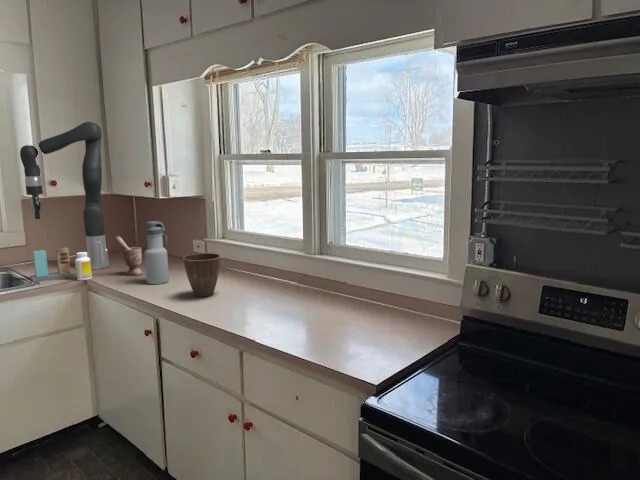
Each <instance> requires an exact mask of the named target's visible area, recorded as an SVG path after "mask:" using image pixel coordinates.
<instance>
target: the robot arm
mask: <svg viewBox="0 0 640 480" xmlns="http://www.w3.org/2000/svg"><path fill="white" fill-rule="evenodd" d="M82 141H84V144H85V152H84V155H83V156H84V157H83V161H82V164H81V165H82V166H81V168H82V169H81V173H82V174H81V175H82V183H83V190H84V194H85V196H84V197H85V198H84V199H85V200H84V201H85V202H84V210H83V223H84V232H85V240H86V250H87V251H86V252H87V257H89V258H90V263H91V270H101V269H105V268H110V263H109V253H108V249H107V244H106V232H105V224H104V223H105V220H104V211H103V205H102V199H101V198H102V196H101V194H102V186H103V185H102V184H103V171H102V170H103V168H102V155H101V147H102V129H101V126H100V125H98V124H97V123H95V122H93V121H92V122H91V121H85V122H83V123H80V124H78V125H77V126H75V127H74V128H72V129H70V130H68V131H65V132H63V133H60V134H57V135H54V136H51V137H48V138H45V139H43V140H41V141H40V142H38V143H39V147H40V149H41V151H42V152H43V153H44V154H46V155H48V154H52V153H55V152H57V151H60V150H62V149H64V148H67V147H68V146H70V145H72V144H74V143H78V142H82ZM32 145H33V144H31V145H29V144H26V145H23V146H22V147H21V148H20V150H19V155H20V156H19V157H20V161H21V163H22V165H23V171H24V185H25V193H26V195H27V196H31V198H30V203H31V207H32V210H33V212H34V219H35V220H40V219H41V213H40V212H41V197H39V196H40V195H43V194H44V190H42V187H43V180H41V179H42V175H41V176H40V174H41V168H39V167H40V166H39V165H38V163H37V159H35V158H36V157H37V155H38V151H37V149H36V148H35V147H34V146H32Z"/></svg>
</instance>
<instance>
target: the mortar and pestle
mask: <svg viewBox="0 0 640 480" xmlns="http://www.w3.org/2000/svg"><path fill="white" fill-rule="evenodd" d="M114 241H115V242H116V243H117V244H118V245H119V246H120V247H121V248H122V253H123V261H124V262H125V266H127V267H128V271H127V272H126V276H129V277H132V276H140V275H143V274H144V273H143V269H141V268H140V265H141V264H142V260H143V259H142V258H143V252H142V249H143V248H142V247H140V246H132V247H129V246H128V245H127V244H126V242H125V241H124V239H123V238H122V237H121V236H120V235H117V236H115V237H114Z"/></svg>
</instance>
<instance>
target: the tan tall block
mask: <svg viewBox="0 0 640 480" xmlns="http://www.w3.org/2000/svg"><path fill="white" fill-rule="evenodd" d="M55 254H56V262H57V263H56V264H57V272H58V273H59V274H64V273H71V270H72V268H71V260H70V250H69V248H68V247H61V248H55Z"/></svg>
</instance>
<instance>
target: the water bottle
mask: <svg viewBox="0 0 640 480" xmlns="http://www.w3.org/2000/svg"><path fill="white" fill-rule="evenodd" d="M146 225H147V227H146V228H145V231H146V235H145V236H146V240H147V248H146V249H145V250H144V264H145V274H146V275H145V277H146V283H147V284H148V285H153V286H154V285H163V284H167V283H168V282H169V281H170V275H169V260H168V259H169V258H168V250H167V249H166V248H165V247H167V246H168V237H167V235H166V234H164V232H165V225H164V223H163V222H162V221H155V220H151V221H147V222H146ZM163 237H164V239H165V243H163Z"/></svg>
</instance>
